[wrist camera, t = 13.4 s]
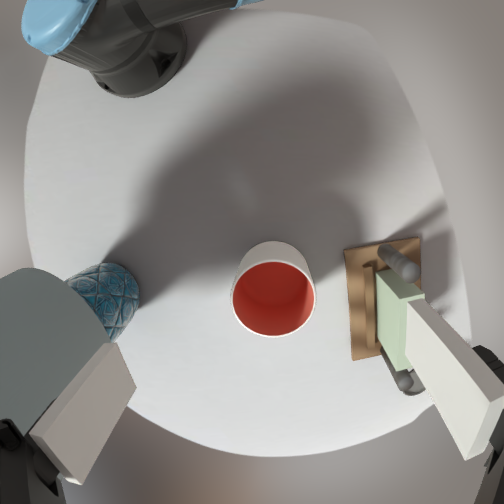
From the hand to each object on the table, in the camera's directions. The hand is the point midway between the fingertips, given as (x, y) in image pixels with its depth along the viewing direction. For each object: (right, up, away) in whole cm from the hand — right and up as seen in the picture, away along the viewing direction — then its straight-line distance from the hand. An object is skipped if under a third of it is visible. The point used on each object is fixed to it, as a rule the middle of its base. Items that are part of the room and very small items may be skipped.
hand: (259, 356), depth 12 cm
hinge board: (+20, -3, +32) cm, 38 cm away
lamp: (-23, -2, +35) cm, 42 cm away
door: (+20, -3, +31) cm, 38 cm away
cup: (+3, +1, +33) cm, 33 cm away
